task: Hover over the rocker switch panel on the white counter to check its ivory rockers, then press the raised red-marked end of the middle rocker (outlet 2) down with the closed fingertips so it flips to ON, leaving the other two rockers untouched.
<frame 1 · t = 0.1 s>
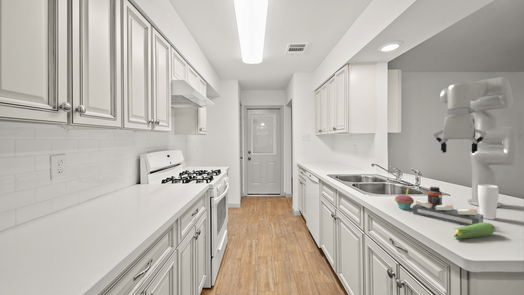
hand: (458, 152, 97), 31 cm above the worktop, tool pointing down, fingers open, 9 cm apart
cupcake: (404, 208, 121), on the worktop
rocker 3: (467, 211, 97), point 6 cm above the worktop, hinge at 12.0°
edible corn: (471, 237, 86), on the worktop
supplement bottle: (434, 208, 120), on the worktop
drinking glass: (487, 218, 104), on the worktop
rocker 1: (423, 203, 110), point 6 cm above the worktop, hinge at -12.0°
rocker switch panel: (445, 218, 105), on the worktop
rocker 2: (444, 207, 104), point 6 cm above the worktop, hinge at 12.0°
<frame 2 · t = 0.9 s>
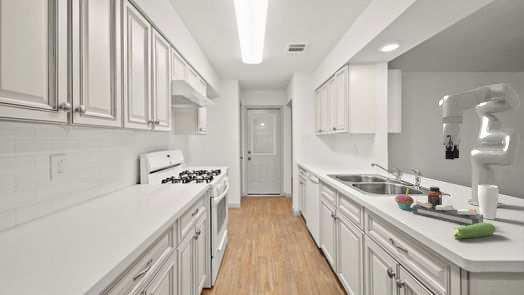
hand: (452, 158, 107), 28 cm above the worktop, tool pointing down, fingers open, 6 cm apart
nothing on the worktop moved.
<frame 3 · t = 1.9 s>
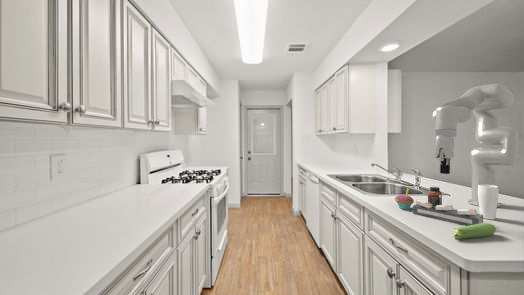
hand: (444, 173, 103), 21 cm above the worktop, tool pointing down, fingers closed
nothing on the worktop moved.
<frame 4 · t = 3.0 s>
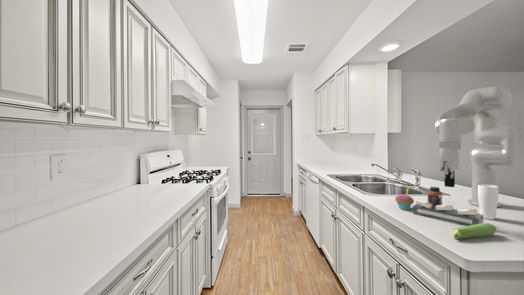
hand: (449, 186, 101), 16 cm above the worktop, tool pointing down, fingers closed
nothing on the worktop moved.
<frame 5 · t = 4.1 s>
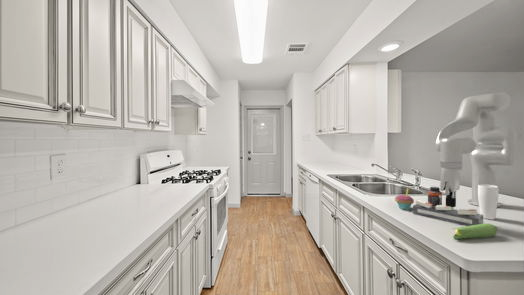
hand: (450, 206, 101), 7 cm above the worktop, tool pointing down, fingers closed
rocker 2: (444, 207, 104), point 6 cm above the worktop, hinge at 11.8°, touching gripper
everything else where it was.
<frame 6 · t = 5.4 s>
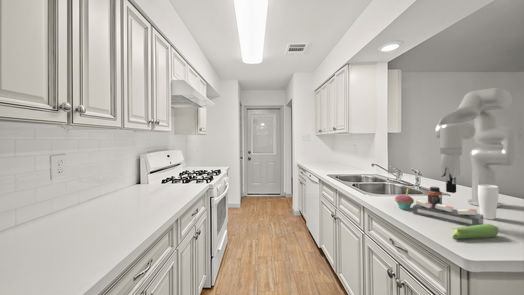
hand: (451, 192, 102), 13 cm above the worktop, tool pointing down, fingers closed
rocker 2: (444, 207, 104), point 6 cm above the worktop, hinge at -4.6°
everything else where it was.
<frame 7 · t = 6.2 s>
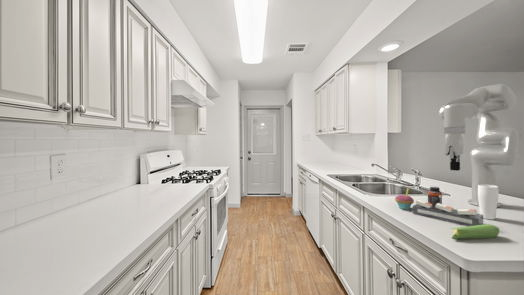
hand: (455, 170, 106), 22 cm above the worktop, tool pointing down, fingers closed
rocker 2: (444, 207, 104), point 6 cm above the worktop, hinge at -11.1°
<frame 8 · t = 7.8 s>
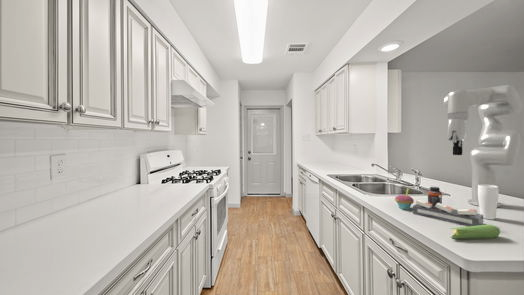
hand: (457, 154, 109), 29 cm above the worktop, tool pointing down, fingers closed
rocker 2: (444, 207, 104), point 6 cm above the worktop, hinge at -15.4°
at the end: rocker 2 at -15° (first picture: +12°); rocker 1 at -12° (first picture: -12°); rocker 3 at +12° (first picture: +12°) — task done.
